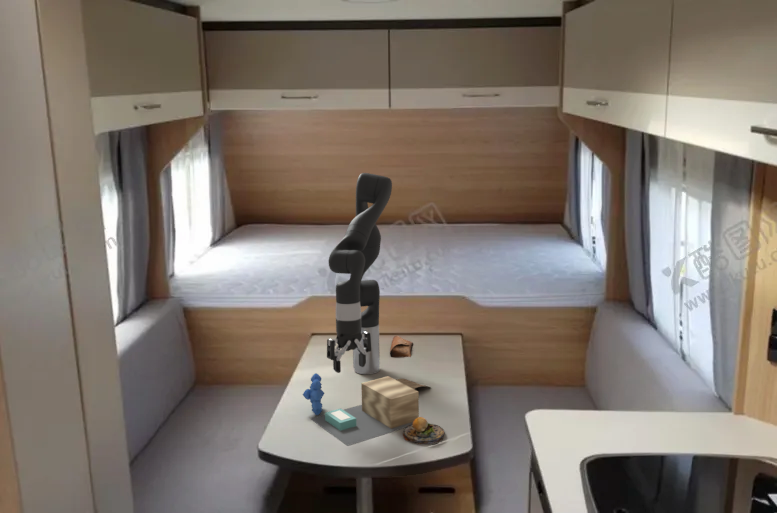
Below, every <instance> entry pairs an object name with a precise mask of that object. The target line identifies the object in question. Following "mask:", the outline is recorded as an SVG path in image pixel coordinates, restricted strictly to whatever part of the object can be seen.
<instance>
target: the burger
mask: <svg viewBox="0 0 777 513" xmlns="http://www.w3.org/2000/svg"><path fill="white" fill-rule="evenodd" d="M445 435H446V432H445V430H444V429H443V427H442V426H440V425H437V424H434V423H429V422H428V420H427V419H426V418H424V417H423V416H419V417H418V418H416V419H415V420H414V421H413V424H412V425H409V426H407V427H406V428H404V429H403V432H402V436H403V438H404V440H405V441H407V442H411V443H413V444H417V445H427V444H428V445H429V444H430V445H431V446H434V445H437V444H439V443H442V441H443V438H444V436H445Z"/></svg>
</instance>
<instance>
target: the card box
mask: <svg viewBox="0 0 777 513" xmlns="http://www.w3.org/2000/svg"><path fill="white" fill-rule="evenodd" d="M324 415H325V420H326V421H327V422H328V423H330V424H331V425H333V426H334V427H336V428H337V429H339V430H340V431H341V430H345V429H348V428H351V427H355V426H356V418H355V417H353V416H352V415H350V414H349V413H347V412H346V411H344V409H342V408H337V409H333V410H330V411H327V412H324Z"/></svg>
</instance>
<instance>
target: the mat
mask: <svg viewBox="0 0 777 513" xmlns="http://www.w3.org/2000/svg"><path fill="white" fill-rule="evenodd" d="M343 410H344V411H346V412H347V413H349V414H350V415H352V416H353V417H355V418H356V426H355V427H351V428H348V429H345V430H341V431H340V430H339V429H337V428H336V427H334V426H333V425H331V424H330V423H328V422H327V421H326V420H325V414H323V415H320V416H319V415H318V416H315V417H312V418H310V421H312V422H314V424H316V425H318V426H319V427H321V428H322V429H324V431H326V432H328V433H329V434H330V435H331V436H333V437H334V438H336V439H337V440H338V441H340V442H341V443H343V444H344V445H345V446H347V447H349V446H352V445H355V444H360V443H361V442H362V443H363V442H365V441H368V440H371V439H374V438H377V437H380V436H384V435H387V434H391V433H394V432H397V431H400V430H404V429H405V428H406V427H407V426H409V425H412V424H413V422H411V423H408V424H404V425H401V426H398V427H395V428H389V427H388V426H386V425H385V424H383V423H381V422H380V421H378V420H377V419H375V418H373V417H372V416H370V415H368V414H367V413H365V412H364V411H362V404H359V405H356V406H352V407H348V408H345V409H343Z"/></svg>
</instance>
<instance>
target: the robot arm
mask: <svg viewBox="0 0 777 513" xmlns="http://www.w3.org/2000/svg"><path fill="white" fill-rule="evenodd" d="M355 186H356V187H355V217H354V218H353V219H352V220H351V221H350V223H349V224H348V227H347V230H346V232H345V234H344V237H343V238H341V240H340V241H339V242H338V243H337V244H336V246H334V248H333V249H332V250H331V253H330V254H329V257H328V267H329V269H330V271H332V273H335V274H344V275H345V274H346V275H349V277H350V278H349V279H347V280H342V281H339V282H337V283H336V285H335V332H336V338H330V337H329V338H327V340H326V358H327V359H329V360H330V361H332V364H333V365H332V366H333V368H332V369H333V370H334V372H335V373H338V374H339V373H341V371H342V370H341V358H342V356H343V355H344V354H345V353H346V352H350V351H351V350H352V357H353V358H352V360H353V362H352V363H353V365H352V367H353V370H354V372H355V373H357V374H361V375H372V374H376V373H378V372H380V370H381V366H380V364H381V362H380V360H381V359H380V357H381V355H380V300H381V299H380V292H381V291H380V285H379V283H378V281H377V280H375V279H365V280H363V277H364V275H365V274H366V272H367V271H368V270H369V269H370V268H371V266H372V265H373V264H374V263H375V261H376V260H377V258H378V257H379V255H380V250H381V242H382V235H381V233H380V230H379V227H378V226H377V224H376V223H377V221H378V220H379V219H380V217H381V215H382V214H383V212H384V211H385V209H386V206H387V204H388V203H389V201H390V198H391V195H392V189H393V181H392V179H391V178H389V177H387V176H384V175H379V174H374V173H370V172H369V173H368V172H362V173H360V174H359V176H358V177H357V180H356V185H355ZM368 203H369V204H372V205H370V206H369V204H368ZM362 307H366V308H365V309H364V310H363V311H362Z"/></svg>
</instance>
